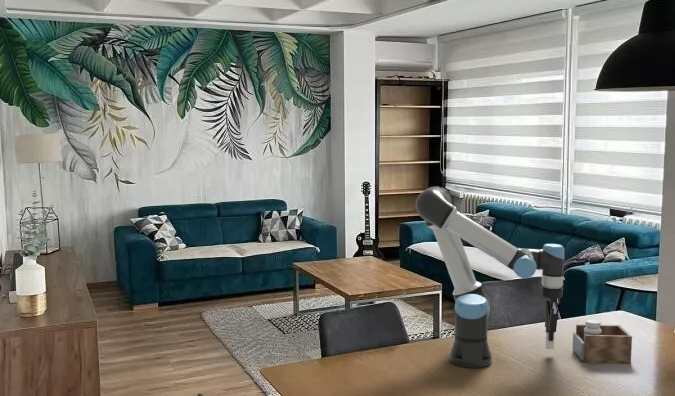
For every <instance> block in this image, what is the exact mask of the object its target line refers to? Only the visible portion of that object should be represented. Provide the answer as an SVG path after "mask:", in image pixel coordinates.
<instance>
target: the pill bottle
mask: <svg viewBox="0 0 675 396" xmlns="http://www.w3.org/2000/svg"><path fill="white" fill-rule="evenodd" d="M585 325H586V326H587V327H585V328H584V343H585V335H602V330H601V329H600V328H599V327H600V326H601V325H602V324H601V321H600V320H598V319H587V320H585Z"/></svg>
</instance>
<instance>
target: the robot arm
mask: <svg viewBox="0 0 675 396" xmlns="http://www.w3.org/2000/svg"><path fill="white" fill-rule="evenodd" d="M415 208H416V212H417V214H418V215H419V216H420V218H422V219H423V220H424V222H425V224H426V227H427V228H429V229H431V230H432V232H433V234H434V236H435V239H436V242H437V245H438V247H439V250H440V252H441V256H442V258H443V261H444V263H445V266H446V268H447V272H448V275H449V277H450V279H451V282H452V284H453V287H454V289H453V292H452V296H453V299H454V301H455V302H454V303H455V304H454V339H453V340H454V341H453V343H452V346H451V349H450V351H449V362H450V363H452V364H453V365H455V366H458V367H463V368H470V369H473V368H474V369H477V368H478V369H479V368H485V367H488V366H490V365H492V363H493V356H492V353H491V350H490V346H489V342H488V321H489V316H490V311H491V307H492V306H491V300H490V297H489V295H487V293H486V292H485V290H484V286H483V284H482V282H480V281H477V280H476V277H475V273H474V271H473V268H472V266H471V263H470V260H469V257H468V256H467V255H468V254H467V253H466V250H465V248H464V245H463V242H462V240H463V241H465V242H467V243H468V244H470V245H471V246H473V247H475V248H476V249H478V250H479V251H480V252H483V253H484V254H486V255H487V256H489V257H491V258H492V259H494V260H496V261H497V262H499V263H501V264H502V265H504V266H505V267H507V268H508V269H510V270H511V271H513V272H514V273H515V274H516V276H517V277H519V278H520V279H529V278H531V277H533V276H534V275H535V274H536V271H537V270H538V271H540V270H542V271H541V285H542V286H541V292H540V293H541V296H542V297H543V298H544V299H545V298H546V299H545V300H544V302H543V303H544V328H545V349H546V350H554V349H555V333H556V332H557V327H558V319H559V312H560V310H559V303H558V299H561V298H563V295H564V294H563V293H564V288H563V286H564V281H565V277H564V272H565V269H564V268H565V247H564V246H563V245H562V244H557V243H545V244H543V247H542V248H541V249H538V248H522V247H516V246H514V245H513V244H511V243H510V242H508V241H507V240H505V239H503V238H501V237H500V236H498V235H497V234H495V233H493V232H492V231H490V230H488V229H487V228H486V227H483V226H482V225H481V224H479V223H477V222H475V221H474V220H472V218H469V217H467V216H466V215H464V214H462V213H461V212H459V211H458V210H457V207H456V206H455V205H453V202H452V197H451V195H450V193H449V192H448V190H447V189H445V188H443V187H440V186H431V187H427V188H426V189H424V190H423V191H422V192H421V193H420V194H419V195H418V196H417V198H416V200H415Z"/></svg>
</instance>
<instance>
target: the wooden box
mask: <svg viewBox="0 0 675 396" xmlns="http://www.w3.org/2000/svg"><path fill="white" fill-rule="evenodd" d="M600 325H601V326H600V327H599V328H600V329H601V330H602V335H585V358H584V361H583V362H584V363H585V364H588V363H589V364H621V365H622V364H623V365H624V364H626V365H629V364H632V349H633V348H632V345H633V335H631V334H630V333H629V332H628V331H626V329H624V327H622V326H621V325H617V324H600ZM585 327H587V326H586V324H576V327H575V333H577V335H578V336H579V337H580V338H581V339H582V341H583V342H584V328H585Z"/></svg>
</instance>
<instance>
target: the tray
mask: <svg viewBox="0 0 675 396" xmlns="http://www.w3.org/2000/svg"><path fill="white" fill-rule="evenodd" d="M572 351H573V352H574V353H575V354H576V356H577V357H578V358H579V360H580V361H581V362H584V358H585V343H584V342H583V341H582V339H581V338H580V337H579V336H578V335H577V333H576V332H572Z"/></svg>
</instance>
